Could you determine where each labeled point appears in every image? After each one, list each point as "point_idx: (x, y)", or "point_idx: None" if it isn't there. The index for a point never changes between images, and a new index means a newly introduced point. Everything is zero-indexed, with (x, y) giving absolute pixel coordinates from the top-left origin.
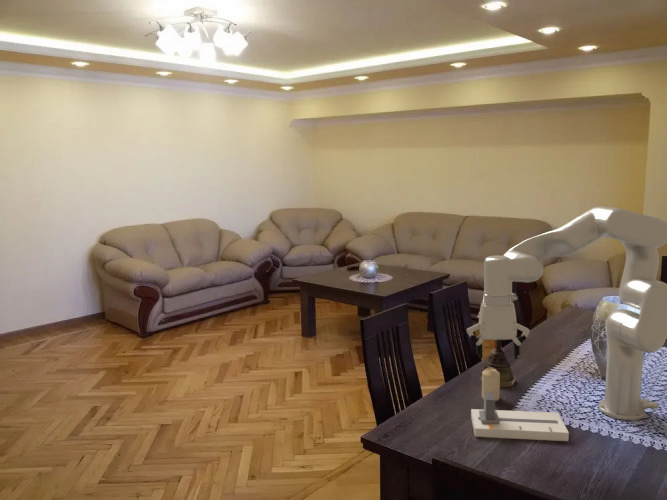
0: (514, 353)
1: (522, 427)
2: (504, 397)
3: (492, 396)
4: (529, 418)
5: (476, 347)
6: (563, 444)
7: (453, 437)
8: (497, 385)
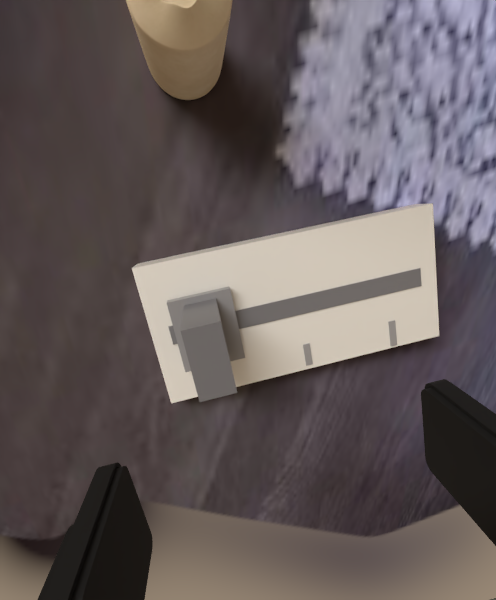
0: (458, 492)
1: (313, 349)
2: (241, 38)
3: (223, 362)
4: (337, 279)
5: (44, 593)
6: (407, 347)
7: (111, 414)
8: (218, 56)
